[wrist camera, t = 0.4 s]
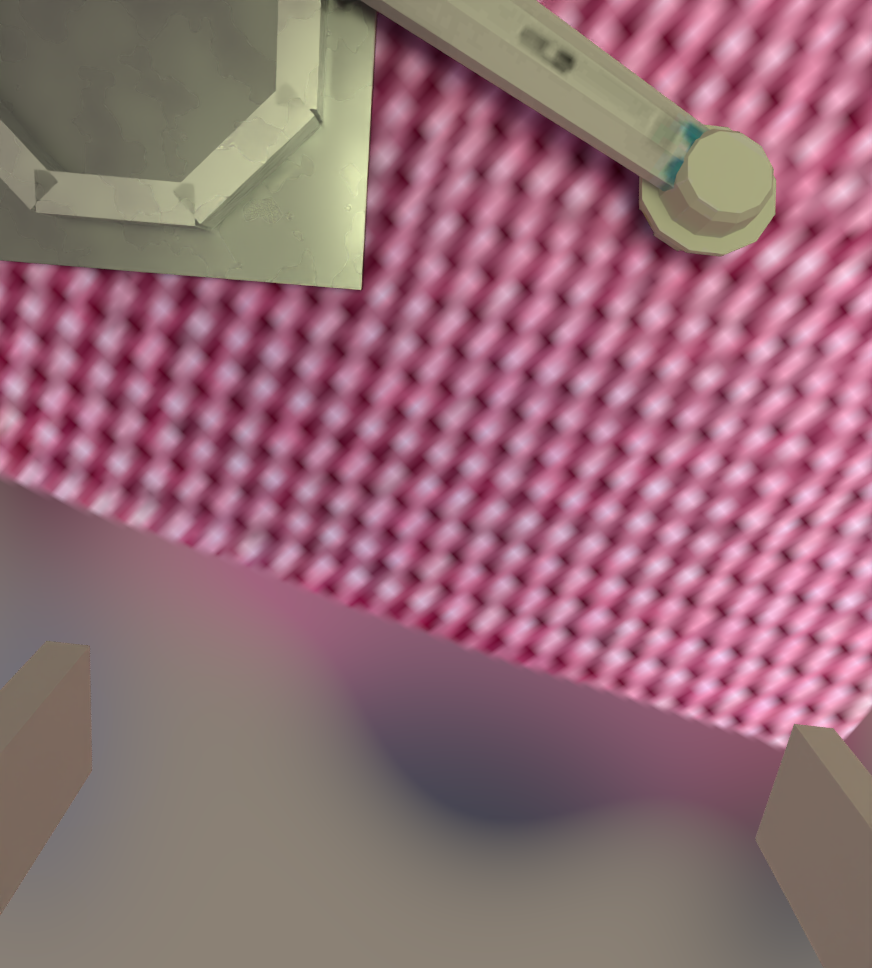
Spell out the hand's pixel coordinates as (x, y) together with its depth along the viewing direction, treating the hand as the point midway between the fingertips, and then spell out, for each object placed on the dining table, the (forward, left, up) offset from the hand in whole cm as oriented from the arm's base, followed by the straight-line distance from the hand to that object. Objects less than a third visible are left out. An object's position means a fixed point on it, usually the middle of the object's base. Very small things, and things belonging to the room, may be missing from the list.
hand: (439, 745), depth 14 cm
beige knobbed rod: (-18, +4, -27) cm, 33 cm away
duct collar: (-19, -15, -27) cm, 36 cm away
